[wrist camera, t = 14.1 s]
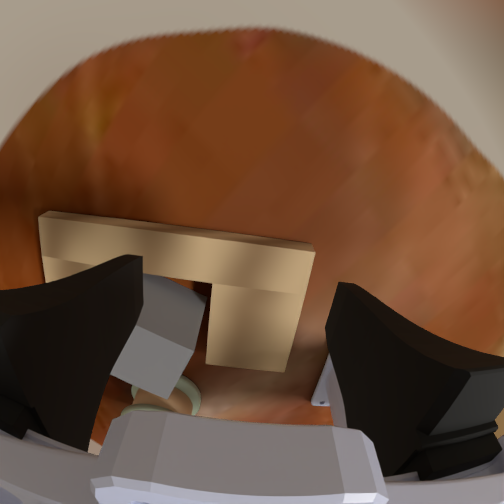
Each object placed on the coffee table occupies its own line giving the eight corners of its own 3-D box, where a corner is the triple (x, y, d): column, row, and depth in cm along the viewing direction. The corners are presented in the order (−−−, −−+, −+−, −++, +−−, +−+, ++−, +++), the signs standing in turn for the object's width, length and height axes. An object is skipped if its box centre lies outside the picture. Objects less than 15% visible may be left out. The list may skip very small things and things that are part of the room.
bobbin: (202, 375, 25) (194, 420, 20) (200, 418, 28) (193, 459, 23) (130, 362, 25) (112, 403, 20) (137, 406, 27) (124, 445, 23)
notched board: (311, 243, 21) (315, 252, 19) (282, 359, 24) (284, 372, 23) (49, 210, 20) (38, 216, 18) (63, 322, 23) (55, 332, 22)
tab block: (207, 296, 22) (194, 351, 17) (183, 344, 24) (167, 399, 18) (143, 266, 21) (111, 313, 16) (125, 317, 23) (97, 367, 18)
